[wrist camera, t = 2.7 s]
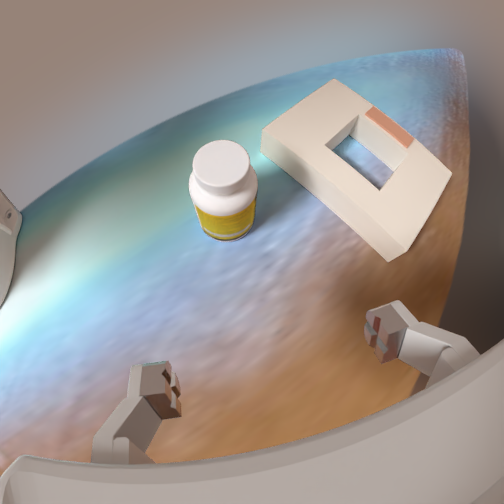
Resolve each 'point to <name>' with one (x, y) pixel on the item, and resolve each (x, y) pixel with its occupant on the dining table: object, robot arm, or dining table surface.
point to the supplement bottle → (223, 190)
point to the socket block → (347, 178)
